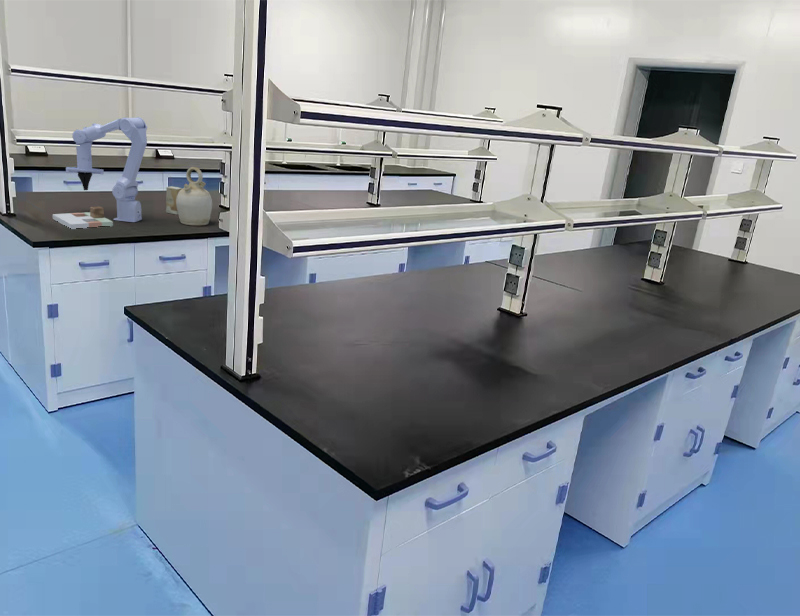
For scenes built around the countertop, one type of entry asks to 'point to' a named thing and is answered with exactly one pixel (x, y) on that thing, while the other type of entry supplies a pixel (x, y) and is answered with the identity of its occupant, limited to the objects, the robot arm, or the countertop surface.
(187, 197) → the jug
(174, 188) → the skincare box
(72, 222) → the trap board
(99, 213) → the walnut block
